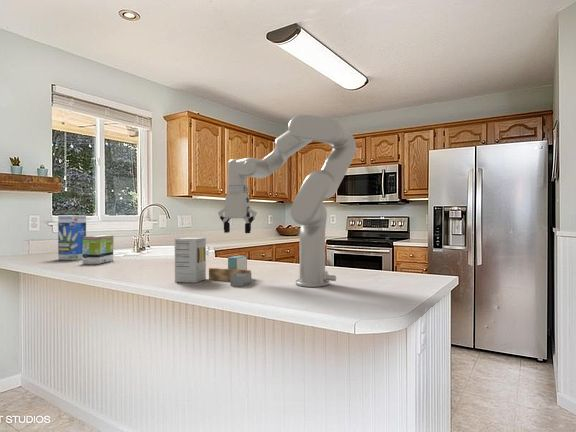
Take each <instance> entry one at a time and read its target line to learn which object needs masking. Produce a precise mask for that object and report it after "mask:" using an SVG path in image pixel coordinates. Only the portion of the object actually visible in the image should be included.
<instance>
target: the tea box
mask: <svg viewBox="0 0 576 432" xmlns="http://www.w3.org/2000/svg"><path fill="white" fill-rule="evenodd" d="M81 260H82V264H84V265H100V264H103V263H108V262H113V261H114V235H110V234H105V235H104V234H103V235H101V234H99V235H96V234H95V235H86V236H84V237H83V257H82V259H81Z"/></svg>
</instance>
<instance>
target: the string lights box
mask: <svg viewBox="0 0 576 432" xmlns="http://www.w3.org/2000/svg"><path fill="white" fill-rule="evenodd" d="M57 219H58V220H57V221H58V222H57V224H58V226H57V229H58V230H57V231H58V232H57V235H58V236H57V237H58V238H57V243H58V246H57V247H58V250H57V251H58V253H57V254H58V256H57V257H58V260H64V261H68V260H69V261H79V260H80V261H81V260H82V257H83V237H84V236H87V216H86V215H69V214H68V215H58V217H57Z"/></svg>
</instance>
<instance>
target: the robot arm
mask: <svg viewBox="0 0 576 432" xmlns="http://www.w3.org/2000/svg"><path fill="white" fill-rule="evenodd" d="M287 127H288V129H287V130H286V131H285V132H284V133H282V134H281V135H279V136H278V137H276V138H275V140H274V149H273V150H272V151H271V152H270V153H269V154H268V155H266V156H264V157H263V158H261V159H260V158H255V157H245V158H241V159H239V158H236V159H229V160H228V162H227V193H226V195H225V200H224V208H223V209H221V210H218V216H219V219H220V220H221V222H222V223H223V233H224V234H227V233H231V231H230V230H231V228H230V227H231V226H230V225H231V224H230V221H231V219H243V220H244V221H245V222H246V223H245V224H244V233H245V234H250V233H251V231H252V223H253V221H255V219H256V217H257V214H258V212H257V211H255V210H254V209H252V208H251V200H250V195H249V193H248V191H250V187H249V186H247V181H248V177H249V178H256V179H265V178H267V177H268V176H271V175H272V174H273V173H276V172H277V171H278V170H279V169H281V168H282V166H283V165H284V164H285V163H286V162H287V160H288V159H289V158H290V157H291V156H293V155H294V154H295V153H297V152H298V151H300V150H302V149H303V148H305V147H306V146H307V145H309V144H310V143H312V142H318V143H324V144H326V145H328V146H330V147H331V148H332V151H331V152H330V153H329V155H328V156H327V158H326V159H325V161H324V163H323V165H322V167H321V169H320V170H319V169H317V170H314V171H312V172H310V173H309V174H307V176H306V177H305V179H304V181H303V182H302V184H301V186H300V188H299V190H298V192H297V193H296V196H295V198H294V200H293V202H292V204H291V207H290V217H291V219H292V220H293V221H294V223H296V224H298V225H300V228H299V244H298V246H299V278H298V279H296V280H295V284H296V286H300V287H306V288H308V287H310V288H317V287H319V288H320V287H326V286H330V283H331V282H337V275H334V274H329V271H328V270H327V271H326V228H327V227H326V226H327V216H328V215H327V214H328V213H327V208H326V205H325V204H324V203H323V202H324V201H325V200H326V199H330V198H332V197H333V196H335V195H336V193H337V192H338V189H339V187H340V185H341V183H342V181H343V179H344V177H345V175H346V173H347V171H348V170H349V167H350V165H351V164H352V162H353V160H354V158H355V154H356V151H357V146H356V145H357V144H356V140H355V137H354V135H353V134H352V132H351V131H350V130H349V129H348V127H346V126H345V125H344V124H342V123H341V122H340V121H339V120H338V119H337V120H336V119H335V118H331V117H326V116H325V117H324V116H317V115H309V114H303V113H301V114H296V115H295V116H293V117H291V119H290V120H289V122H288V126H287ZM330 281H331V282H330Z"/></svg>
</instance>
